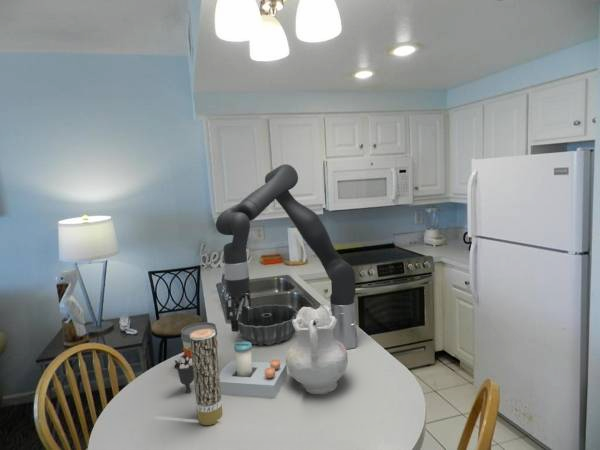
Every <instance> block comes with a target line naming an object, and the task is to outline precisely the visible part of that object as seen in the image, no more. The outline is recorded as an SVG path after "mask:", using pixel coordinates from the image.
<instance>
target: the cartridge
mask: <svg viewBox="0 0 600 450" xmlns="http://www.w3.org/2000/svg"><path fill="white" fill-rule="evenodd" d="M252 346H253V344H252V343H250V342H247V341H245V340H244V341H243V340H242V341H239V342H237V341H236V342H235V343H234V344H233V350H234V351H235V352H234V353H235V361H236V369H237V377H251V376H252V375H253V370H252V362H253V359H252V348H253V347H252Z"/></svg>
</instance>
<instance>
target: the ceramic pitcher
mask: <svg viewBox="0 0 600 450" xmlns="http://www.w3.org/2000/svg"><path fill="white" fill-rule="evenodd" d="M336 322H337V319H336V318H335V317H334V316H333V315H332V311H331V307H330V306H328V305H327V304H321V303H320V304H319V307H318V308H316V309H314V308H312V307H310V306H302V307H301V308H300V309H299V311H298V314H297V316H296V319H293V320H292V324H293V326H294V328H295V332H296V335H297V336H296V337H297V338H296V341H295V342H293V344H292V345H290V346H289V348H288V350H287V352H286V355H285V362H286V363H285V364H287V371H288V372H289V373H290V375H291V377H292V378H293V379H294V380H295V381H296V382H298V383H300V384H302V386H303V387H304V388H305V389H304V391H305V392H306V393H308V394H311V395H327V394H329V393H331V392H333V391H334V390H336V389H337V388H338V382H337V381H339V380H340V379H341V377H343V375H344V373H345V372H346V370H347V367H348V363H349V359H348V358H349V357H348V350H347V349H346V348H345V347H344V345H343V344H342V343H341V342H339V341H337V340H336V339H335V338H334V337H333V330H334V327H335V325H336Z"/></svg>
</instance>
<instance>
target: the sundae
mask: <svg viewBox="0 0 600 450" xmlns="http://www.w3.org/2000/svg"><path fill="white" fill-rule="evenodd" d="M189 349H191V348H189ZM189 349H188V350H189ZM187 352H188V351H187ZM187 352H186V353H184V352H183V355H182V356H180V357H179V358H178V361H177V360H174V362H175V364H174V367H173V368H174V369H175V370H176V371H177V373H178V378H179V382H180V383H181V384H182V385H183V386H185V392H184V394H191V392H192V390H191V386H190V384H192V383H193V382H194V374H193V364H192V355H190V350H189V355H187Z"/></svg>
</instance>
